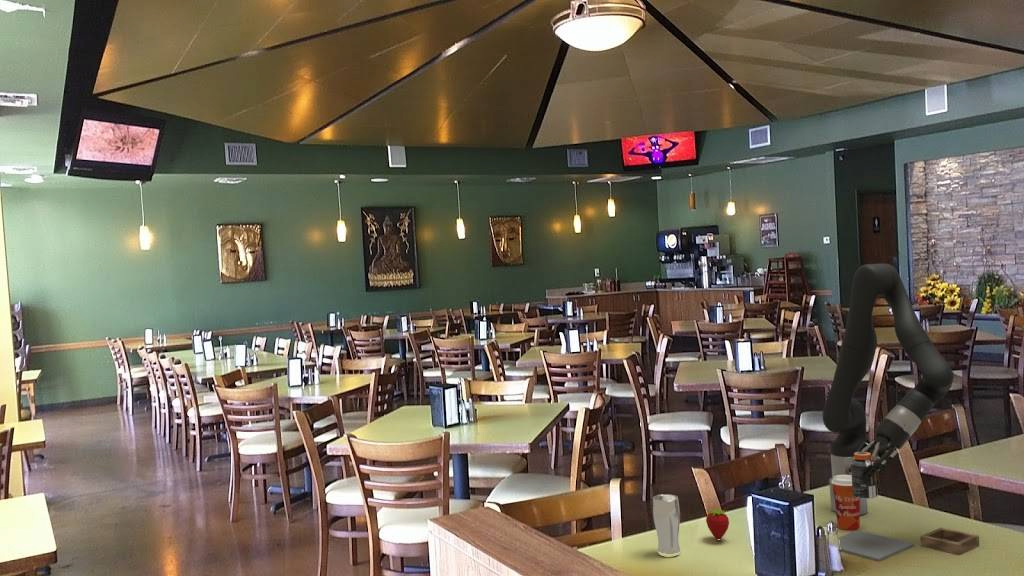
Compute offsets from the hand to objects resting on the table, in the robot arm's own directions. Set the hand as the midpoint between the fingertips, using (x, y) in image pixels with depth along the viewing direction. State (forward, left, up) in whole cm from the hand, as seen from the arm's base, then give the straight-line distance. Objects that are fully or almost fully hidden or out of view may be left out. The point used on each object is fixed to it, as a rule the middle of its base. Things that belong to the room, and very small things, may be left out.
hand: (857, 475), depth 212 cm
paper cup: (-11, +11, -19) cm, 25 cm away
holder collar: (+15, +15, -18) cm, 28 cm away
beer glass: (-31, -39, -19) cm, 53 cm away
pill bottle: (+1, +1, -6) cm, 6 cm away
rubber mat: (+1, +1, -18) cm, 19 cm away
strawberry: (-29, -22, -19) cm, 41 cm away
